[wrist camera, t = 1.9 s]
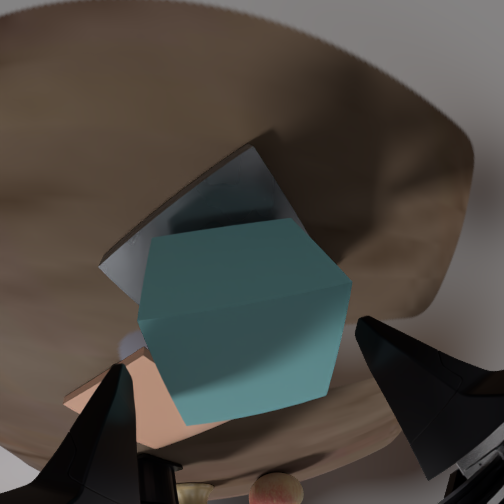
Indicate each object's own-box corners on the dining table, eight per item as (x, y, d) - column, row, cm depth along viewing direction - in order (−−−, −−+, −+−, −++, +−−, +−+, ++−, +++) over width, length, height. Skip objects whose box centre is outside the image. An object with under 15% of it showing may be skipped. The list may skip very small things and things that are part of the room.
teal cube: (290, 217, 12) (352, 281, 8) (288, 320, 15) (326, 395, 11) (152, 237, 11) (137, 320, 7) (179, 340, 14) (186, 426, 9)
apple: (238, 485, 36) (248, 521, 29) (253, 470, 32) (267, 513, 25) (282, 478, 39) (295, 512, 32) (303, 462, 35) (318, 500, 28)
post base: (326, 271, 17) (380, 337, 12) (208, 349, 17) (223, 428, 12) (247, 143, 12) (296, 165, 7) (103, 255, 13) (70, 336, 8)
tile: (239, 407, 22) (241, 414, 21) (155, 442, 23) (155, 449, 22) (143, 346, 16) (143, 355, 15) (64, 397, 17) (63, 404, 16)
